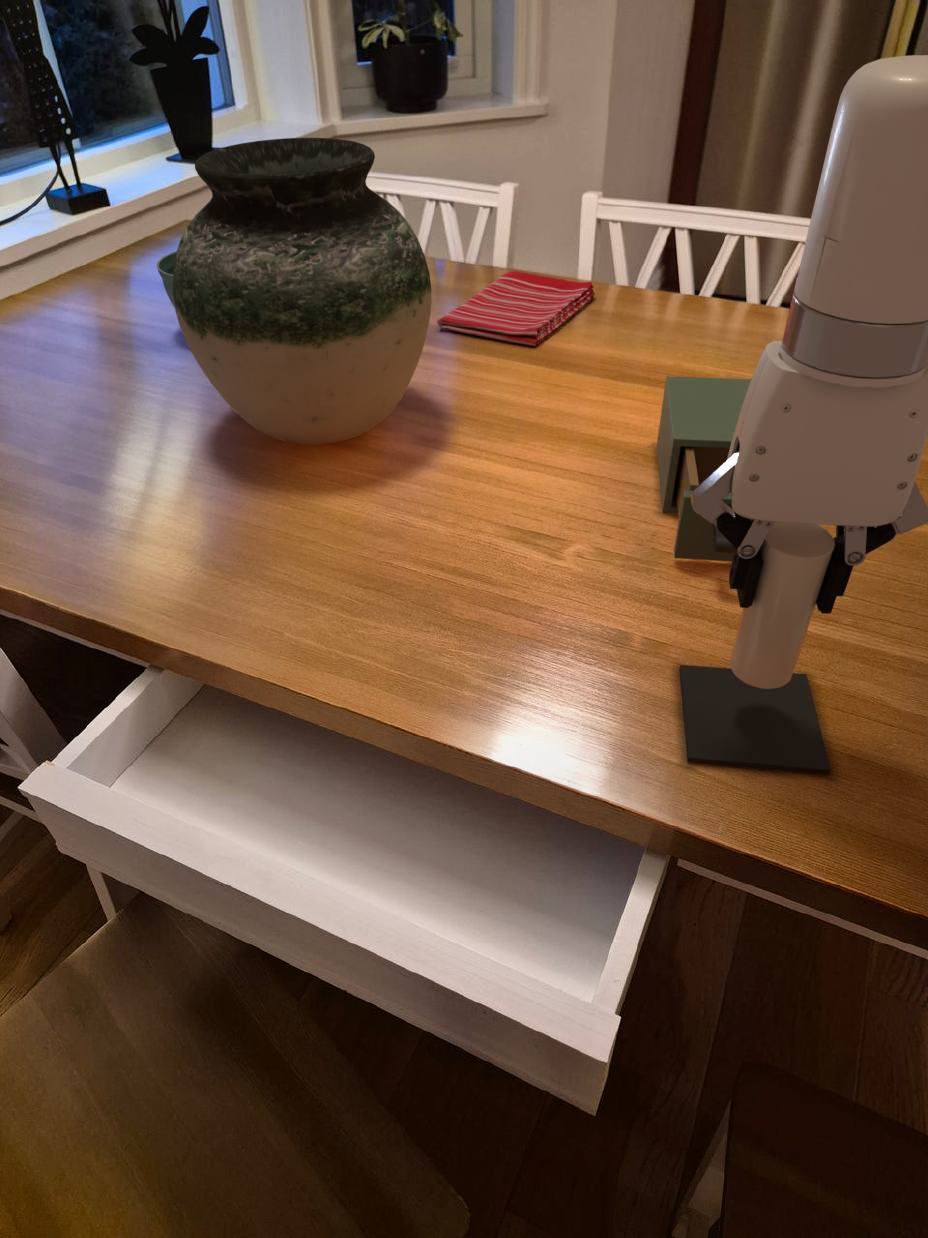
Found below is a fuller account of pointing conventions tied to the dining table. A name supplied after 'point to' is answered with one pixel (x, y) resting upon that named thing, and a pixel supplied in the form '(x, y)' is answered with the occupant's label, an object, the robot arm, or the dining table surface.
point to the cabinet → (695, 423)
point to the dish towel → (519, 308)
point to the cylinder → (781, 604)
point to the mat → (750, 722)
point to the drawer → (693, 529)
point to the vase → (301, 289)
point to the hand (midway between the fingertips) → (781, 595)
